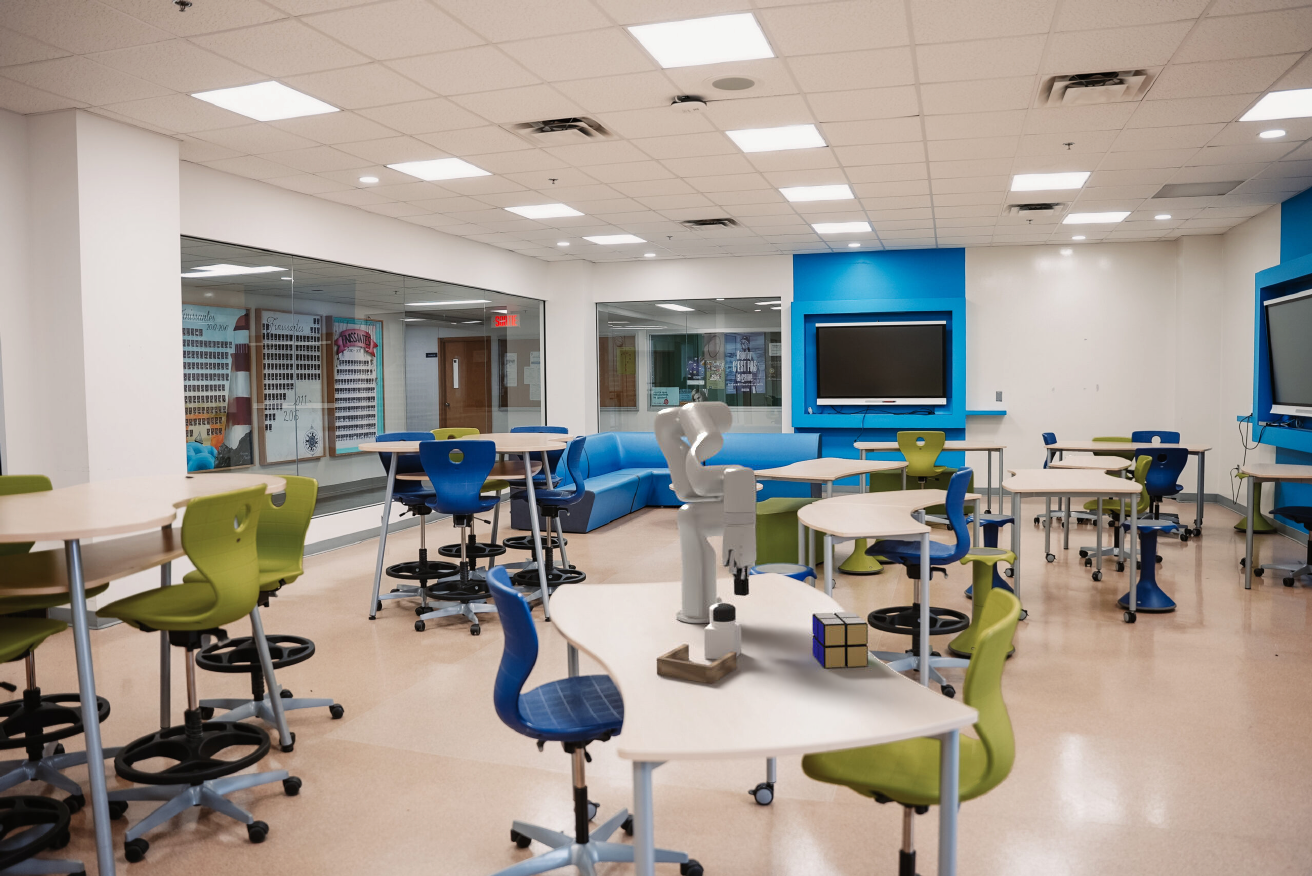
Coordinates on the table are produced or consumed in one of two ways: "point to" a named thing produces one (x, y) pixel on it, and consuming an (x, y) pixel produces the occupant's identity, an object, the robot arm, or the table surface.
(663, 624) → the table surface
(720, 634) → the medicine bottle
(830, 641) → the puzzle cube
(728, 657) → the bay
